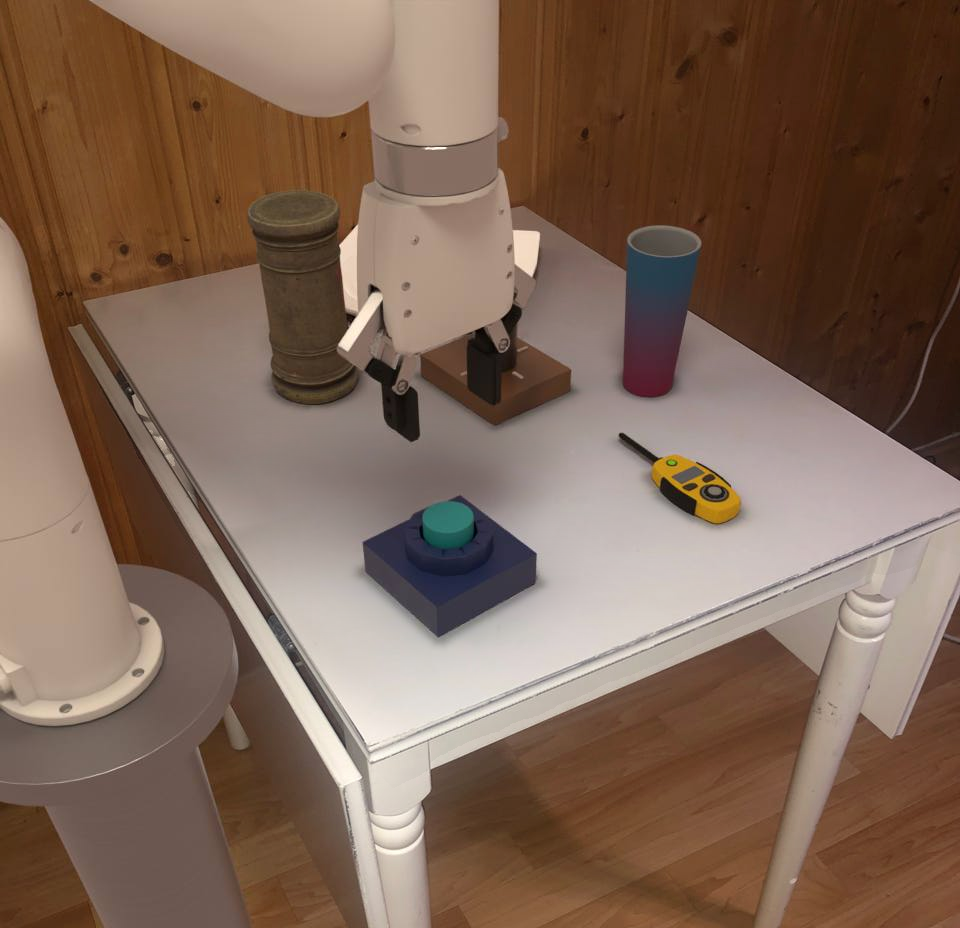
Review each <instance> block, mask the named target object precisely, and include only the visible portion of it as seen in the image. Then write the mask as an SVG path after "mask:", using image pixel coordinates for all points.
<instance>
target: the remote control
mask: <svg viewBox="0 0 960 928" xmlns="http://www.w3.org/2000/svg"><path fill="white" fill-rule="evenodd" d="M618 438H619V439H620V440H622V441H623V442H625V443H626V444H627V445H629V446H630V447H631V448H633V449H634V450H636V451H637V452H638V453H640V454H642V455H643V456H644V457H646V458H647V459H648V460H650V461H651V462H652V463H653V465H652V467H651V469H652V470H651V479H652V480H653V482H654V483H655V484H656V486H657V487H658V488H659V491H660V492H661V493H662V494H663V496H664V497H665V498H667V499H668V500H669V501H670V502H671V503H672V504H674V505H675V506H677V507H678V508H679V509H681V510H683V511H685V512H686V513H688V514H690V515H691V516H698V517H699V518H701V519H703V520H706V521H708V522H710V523H712V524H722V523H725V522H727V521H730V520H731V519H734V518H735V517H736V516H737V515H738V514H739V513H740V510H741V507H742V506H741V505H742V499H741V497H740V496H739V494H738V493H737V492H736V490H734V488H732V485H731V484H730V483H729V482H728V481H727V480H726V479H725V478H724V477H723V476H721V475H720V474H719V473H718V472H716V471H714V470H713V469H711V468H710V467H708V466H706V465H705V464H702V463H701V462H699V461H696V462H695V461H693V460H691V459H689V458H687V457H685V456H682V455H679V454H670V455H667V456H664V457H658V456H657V455H655V454H654V453H652V452H651V451H649V450H648V449H647V448H645V447H644V446H642V445H641V444H640V443H638V442H637V441H635V440H634V439H633V438H631V437H630V436H628V435H627V434H626V433H624V432H619V433H618Z"/></svg>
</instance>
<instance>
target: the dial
mask: <svg viewBox="0 0 960 928" xmlns="http://www.w3.org/2000/svg"><path fill="white" fill-rule="evenodd" d="M517 337H518V323H517V324H516V326H515V327H514V329H513V330H512V332H511V334H510V335H509V338H510V346H509V348H508V349H507V350H506V351H505V352H503V353H502V372H503V371H507V370H509V369H511V368H513V367H514V366H515V364H516V362H517ZM473 338H474V335H473Z"/></svg>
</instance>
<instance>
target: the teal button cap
mask: <svg viewBox="0 0 960 928" xmlns="http://www.w3.org/2000/svg"><path fill="white" fill-rule="evenodd" d="M427 507H428V508H427ZM427 507H426V508H427V509H426V510H425V511H424V513H423V516H422V520H423V536H424V539H425V541H426V542H427V543H428V544H429V545H431V546H435V547H439V548H443V549H449V548H459V547H462V546H464V545H466V544H468V543H469V542H470V541H471V540H472V538H473V535H474V516H473V512H472V511H471V509H470V508H469V507H467V506H466V505H464V504H462V503H459V502H454V501H448V500H444V501H439V502H436V503H433V504H431V505H429V506H427Z"/></svg>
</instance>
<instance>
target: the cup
mask: <svg viewBox="0 0 960 928" xmlns="http://www.w3.org/2000/svg"><path fill="white" fill-rule="evenodd" d="M626 239H627V240H626V266H625V268H626V270H625V298H624V299H625V300H624V330H623V359H622V360H623V362H622V363H623V365H622V385H623V388H624V389H625V390H626V391H628V392H629V393H631V394H633V395H635V396H637V397H638V396H639V397H645V398H654V397H661V396H664V395H666V394H668V393H669V392H670V391H671V389H672V387H673V383H674V378H675V374H676V368H677V363H678V359H679V355H680V349H681V345H682V340H683V335H684V330H685V325H686V322H687V315H688V310H689V306H690V302H691V297H692V292H693V287H694V282H695V277H696V273H697V267H698V263H699V257H700V252H701V249H702V240H701V238H700V237H699V235H697V234H696V233H694V232H693V231H691V230H688V229H685V228H682V227H678V226H673V225H659V224H658V225H648V226H643V227H640V228H638V229H635V230H633V231H631V232H630V233H629V234H628V236H627V238H626Z"/></svg>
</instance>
